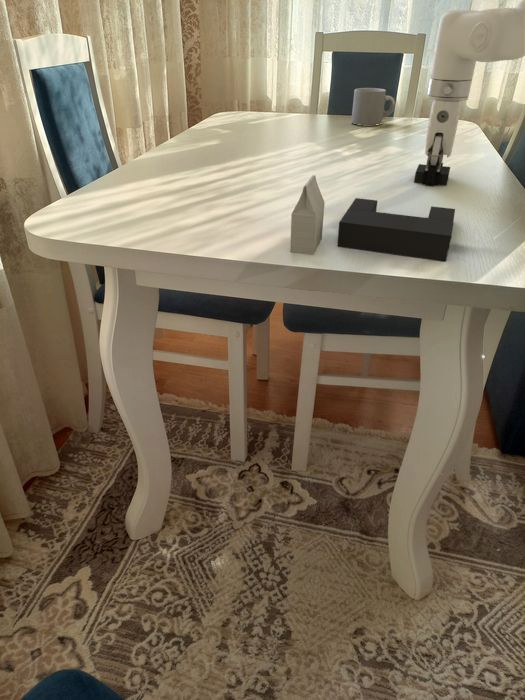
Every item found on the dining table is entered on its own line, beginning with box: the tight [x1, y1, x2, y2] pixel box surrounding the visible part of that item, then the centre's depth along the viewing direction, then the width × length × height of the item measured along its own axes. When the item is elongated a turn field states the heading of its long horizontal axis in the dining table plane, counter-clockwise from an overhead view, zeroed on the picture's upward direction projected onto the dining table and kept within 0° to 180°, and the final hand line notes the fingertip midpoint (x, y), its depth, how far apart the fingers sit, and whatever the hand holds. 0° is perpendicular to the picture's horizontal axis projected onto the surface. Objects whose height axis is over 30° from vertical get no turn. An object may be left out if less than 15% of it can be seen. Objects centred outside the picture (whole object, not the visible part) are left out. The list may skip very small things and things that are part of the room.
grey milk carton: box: [289, 174, 326, 255], centre depth 75 cm, size 4×7×10 cm, turn 164°
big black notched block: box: [336, 197, 456, 262], centre depth 79 cm, size 16×13×4 cm
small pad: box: [413, 163, 451, 187], centre depth 102 cm, size 6×6×4 cm
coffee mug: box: [350, 87, 396, 125], centre depth 160 cm, size 13×10×10 cm
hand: (430, 185), depth 102 cm, fingers closed on small pad, 6 cm apart
